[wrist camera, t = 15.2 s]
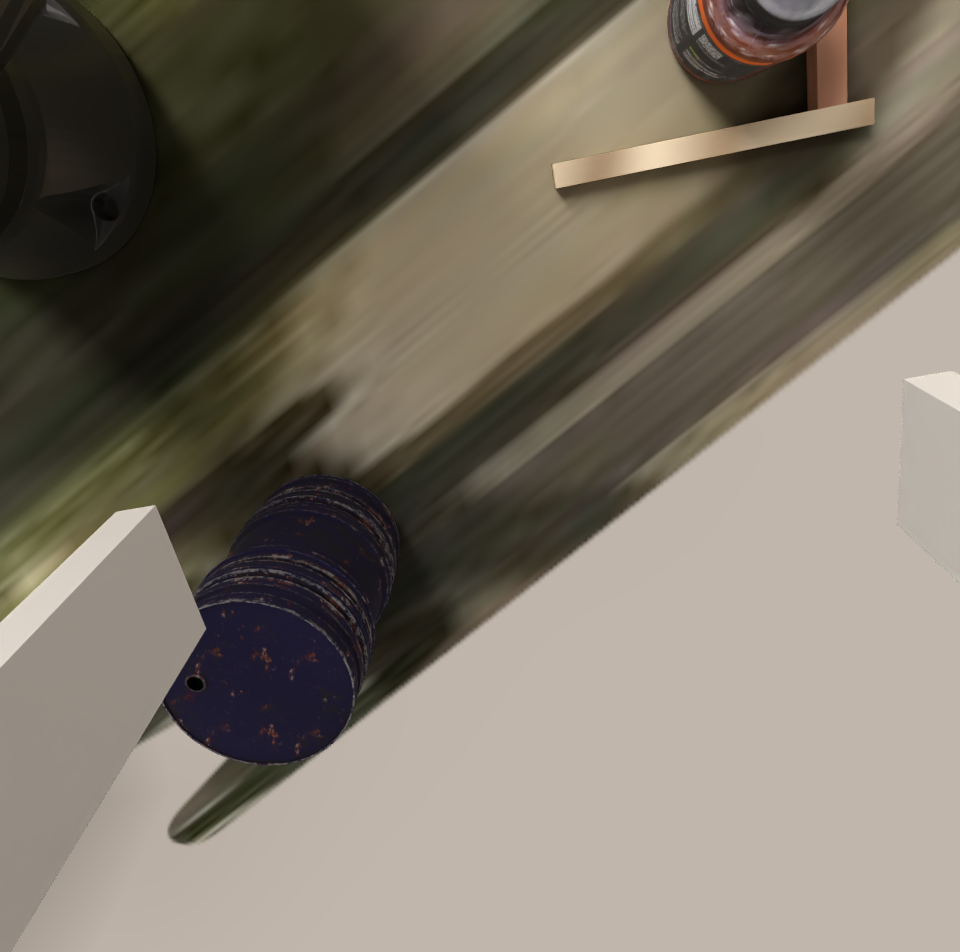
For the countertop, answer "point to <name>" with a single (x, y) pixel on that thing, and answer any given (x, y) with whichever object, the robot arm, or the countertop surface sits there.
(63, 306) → the countertop surface
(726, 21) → the supplement bottle
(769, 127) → the guide channel
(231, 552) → the storage jar
